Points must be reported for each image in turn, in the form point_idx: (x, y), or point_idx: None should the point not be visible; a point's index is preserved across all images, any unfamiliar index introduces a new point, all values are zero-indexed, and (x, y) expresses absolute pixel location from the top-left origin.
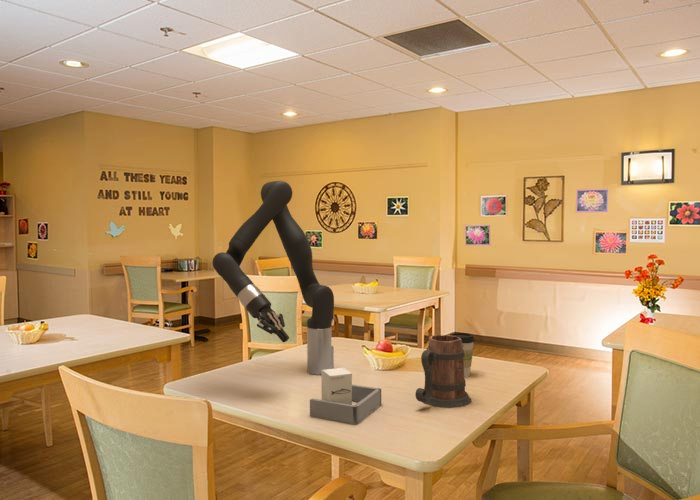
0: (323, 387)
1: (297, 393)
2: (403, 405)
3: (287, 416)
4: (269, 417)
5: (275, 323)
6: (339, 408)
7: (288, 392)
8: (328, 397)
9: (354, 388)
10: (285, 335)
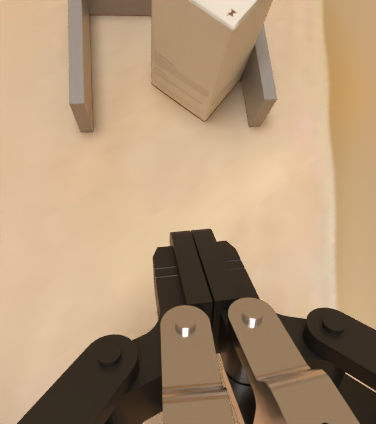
0: (234, 59)
1: (107, 275)
2: None
3: (294, 177)
4: (329, 216)
5: (305, 372)
6: None
7: (113, 313)
8: (253, 43)
9: (83, 45)
10: (210, 245)
